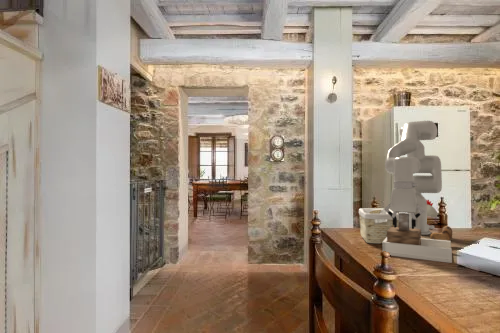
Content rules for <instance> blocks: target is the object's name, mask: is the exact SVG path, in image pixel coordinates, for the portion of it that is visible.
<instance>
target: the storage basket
mask: <svg viewBox="0 0 500 333" xmlns="http://www.w3.org/2000/svg"><path fill="white" fill-rule="evenodd" d="M385 208H386V207H384V208H383V207H382V208H378V207H377V208H376V207H372V208H371V207H369V208H366V207H364V208H362V207H360V208H359V209H358V215H359V230H360V231H359V233H360V236H361V237H362V238H363V240H364V241H365V242H366V243H368V244H378V245H379V244H382V242H383V241H384V240H385V238H386V237H387V231H388V230H389V228H390V227H394V225H393V218H392V217H391V216H390V215H389V214H388V213H387V212H386V211H385V210H384V209H385ZM389 210H390V211H391V212H392V213H393V211H392V210H391V208H389ZM396 218H397V227H399V212H397V214H396Z"/></svg>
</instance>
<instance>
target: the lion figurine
mask: <svg viewBox="0 0 500 333" xmlns="http://www.w3.org/2000/svg"><path fill="white" fill-rule="evenodd" d="M429 235H430V236H429V239H434V240H445V241H451V240H452V238H453V228H452V227H451V226H449V225H445V226H443V227H442V231H441V232H432V233H431V234H429Z"/></svg>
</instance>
